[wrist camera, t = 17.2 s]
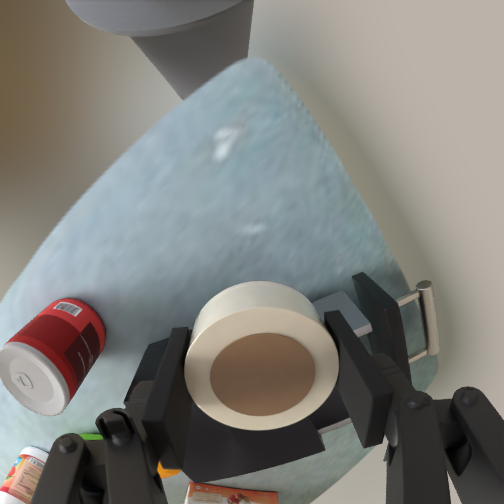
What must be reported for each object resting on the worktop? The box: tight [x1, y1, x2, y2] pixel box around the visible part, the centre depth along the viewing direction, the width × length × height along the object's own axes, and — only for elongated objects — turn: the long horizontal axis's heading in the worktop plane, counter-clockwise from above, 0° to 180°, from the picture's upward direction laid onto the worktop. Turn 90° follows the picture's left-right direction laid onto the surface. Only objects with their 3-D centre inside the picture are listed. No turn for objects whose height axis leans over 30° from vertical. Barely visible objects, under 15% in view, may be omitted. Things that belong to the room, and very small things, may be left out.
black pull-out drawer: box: [310, 272, 440, 435], centre depth 28 cm, size 18×11×8 cm, turn 112°
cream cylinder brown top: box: [184, 281, 339, 430], centre depth 14 cm, size 7×7×3 cm
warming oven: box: [123, 330, 325, 484], centre depth 28 cm, size 14×13×10 cm
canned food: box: [0, 298, 105, 416], centre depth 26 cm, size 8×8×11 cm
